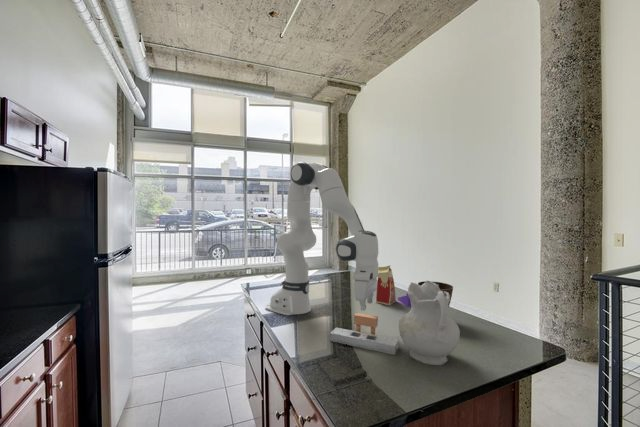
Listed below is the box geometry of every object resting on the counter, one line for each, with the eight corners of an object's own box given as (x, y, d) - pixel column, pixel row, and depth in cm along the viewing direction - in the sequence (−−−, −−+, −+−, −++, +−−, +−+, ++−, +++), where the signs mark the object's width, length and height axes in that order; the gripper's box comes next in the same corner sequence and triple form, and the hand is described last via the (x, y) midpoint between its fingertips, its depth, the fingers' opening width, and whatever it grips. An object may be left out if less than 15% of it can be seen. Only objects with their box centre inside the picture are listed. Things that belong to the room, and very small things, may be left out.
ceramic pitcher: (477, 375, 92) (484, 294, 93) (423, 379, 87) (430, 293, 87) (432, 344, 113) (437, 278, 113) (386, 346, 107) (392, 277, 108)
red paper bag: (395, 301, 163) (396, 264, 163) (390, 305, 155) (390, 267, 155) (379, 298, 168) (380, 262, 167) (373, 302, 160) (374, 265, 160)
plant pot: (415, 313, 144) (416, 280, 144) (448, 316, 141) (449, 282, 141) (419, 324, 129) (419, 287, 129) (456, 328, 126) (456, 290, 126)
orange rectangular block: (353, 332, 120) (353, 315, 120) (355, 329, 123) (356, 312, 123) (375, 336, 116) (376, 318, 116) (377, 333, 119) (377, 316, 119)
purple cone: (420, 306, 155) (420, 293, 155) (408, 307, 154) (408, 294, 153) (408, 300, 167) (409, 287, 167) (397, 300, 165) (397, 288, 165)
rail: (329, 341, 112) (330, 333, 112) (335, 335, 117) (335, 327, 117) (395, 354, 102) (395, 346, 102) (398, 347, 107) (398, 339, 107)
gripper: (366, 266, 130) (366, 298, 130) (351, 275, 111) (351, 312, 111) (380, 267, 127) (380, 300, 127) (367, 277, 109) (367, 315, 109)
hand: (366, 306), depth 119 cm, fingers open, 8 cm apart
